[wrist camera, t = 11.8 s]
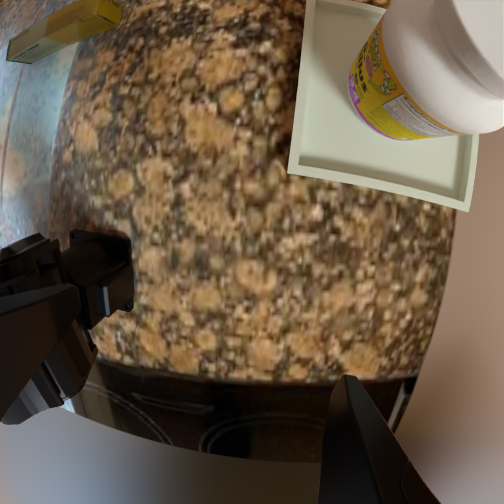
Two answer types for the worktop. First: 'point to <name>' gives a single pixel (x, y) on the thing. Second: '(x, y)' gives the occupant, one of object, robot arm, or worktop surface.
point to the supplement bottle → (432, 70)
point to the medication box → (64, 29)
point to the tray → (355, 130)
